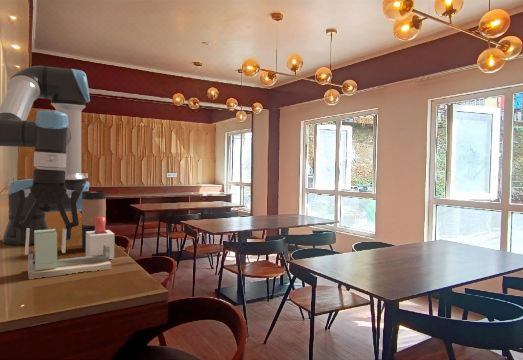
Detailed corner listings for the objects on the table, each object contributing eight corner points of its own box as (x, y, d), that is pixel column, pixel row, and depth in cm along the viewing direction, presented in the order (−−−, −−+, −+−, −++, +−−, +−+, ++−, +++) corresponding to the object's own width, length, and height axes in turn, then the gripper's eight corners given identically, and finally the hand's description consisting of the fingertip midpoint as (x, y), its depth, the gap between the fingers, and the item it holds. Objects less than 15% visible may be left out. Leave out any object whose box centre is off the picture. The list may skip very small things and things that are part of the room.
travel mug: (96, 251, 125) (96, 192, 124) (76, 250, 126) (76, 191, 126) (110, 246, 132) (110, 191, 132) (91, 245, 134) (91, 190, 133)
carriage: (34, 264, 102) (34, 230, 101) (55, 262, 104) (55, 228, 104) (35, 270, 97) (35, 234, 96) (57, 267, 99) (57, 232, 99)
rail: (27, 270, 102) (27, 249, 102) (105, 261, 113) (105, 242, 113) (28, 279, 95) (28, 256, 94) (111, 268, 106) (111, 248, 105)
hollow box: (85, 256, 119) (85, 231, 119) (108, 253, 123) (109, 229, 122) (89, 262, 112) (90, 235, 112) (114, 259, 116) (114, 233, 116)
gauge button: (94, 232, 118) (94, 217, 117) (104, 232, 119) (104, 216, 119) (95, 234, 115) (95, 218, 115) (106, 233, 117) (106, 218, 117)
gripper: (2, 166, 91) (-3, 258, 92) (93, 171, 102) (89, 253, 103) (3, 166, 97) (-1, 252, 98) (89, 170, 109) (85, 247, 109)
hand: (45, 252), depth 100 cm, fingers open, 8 cm apart
